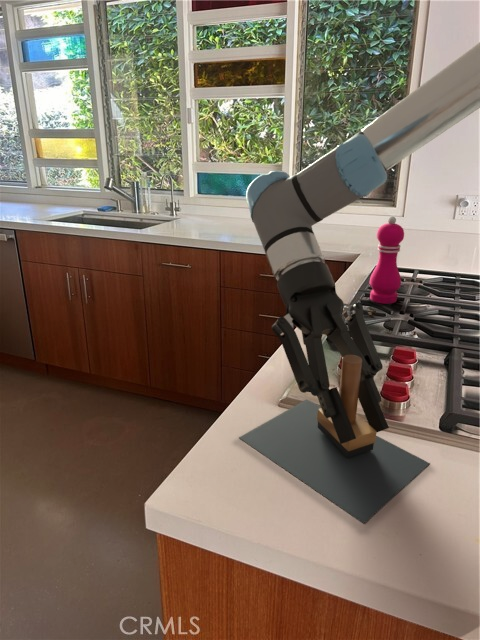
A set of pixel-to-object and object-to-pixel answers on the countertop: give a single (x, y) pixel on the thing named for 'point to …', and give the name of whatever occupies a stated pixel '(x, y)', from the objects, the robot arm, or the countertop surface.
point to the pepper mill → (387, 264)
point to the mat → (335, 462)
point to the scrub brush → (349, 411)
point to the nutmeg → (372, 311)
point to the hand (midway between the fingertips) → (364, 435)
